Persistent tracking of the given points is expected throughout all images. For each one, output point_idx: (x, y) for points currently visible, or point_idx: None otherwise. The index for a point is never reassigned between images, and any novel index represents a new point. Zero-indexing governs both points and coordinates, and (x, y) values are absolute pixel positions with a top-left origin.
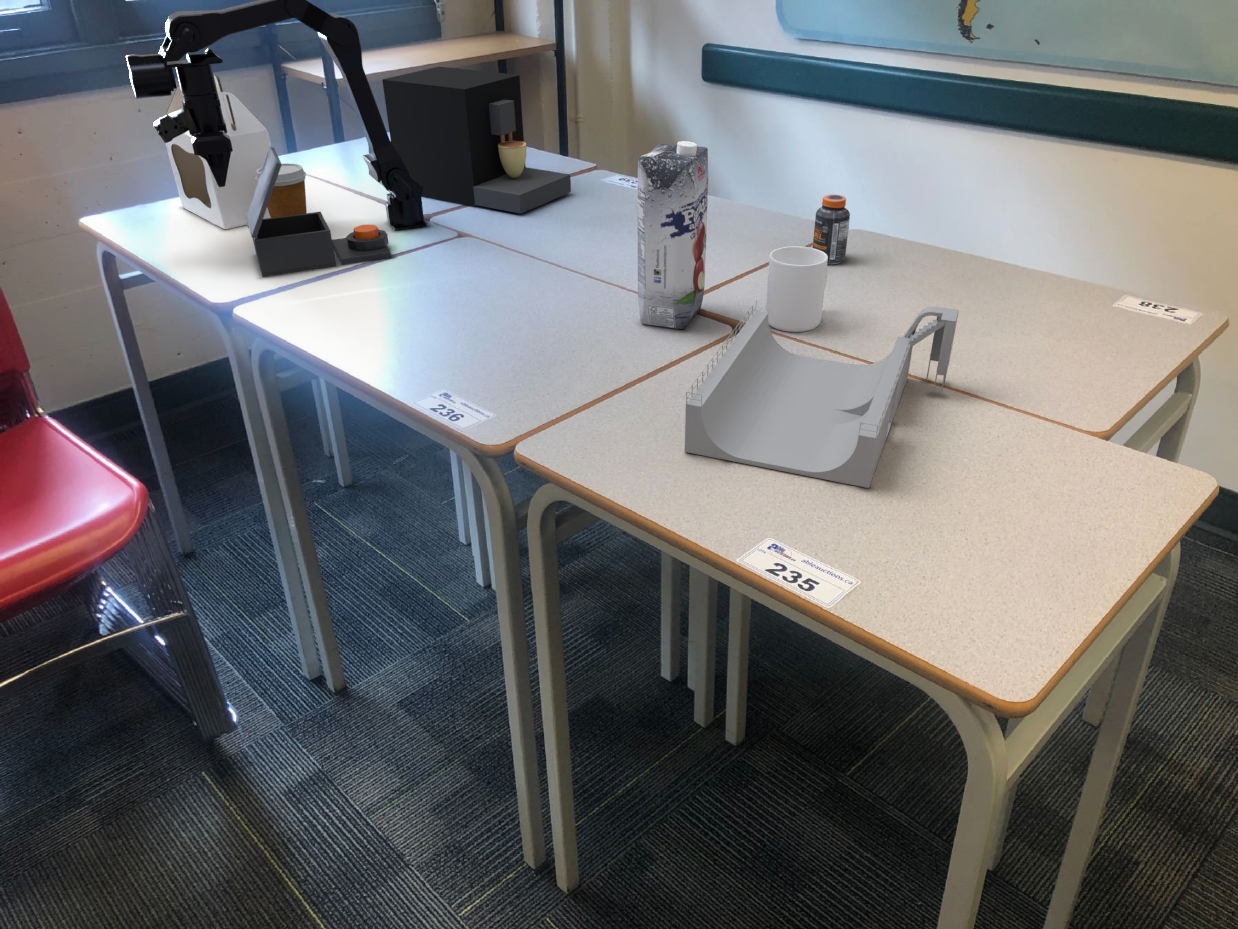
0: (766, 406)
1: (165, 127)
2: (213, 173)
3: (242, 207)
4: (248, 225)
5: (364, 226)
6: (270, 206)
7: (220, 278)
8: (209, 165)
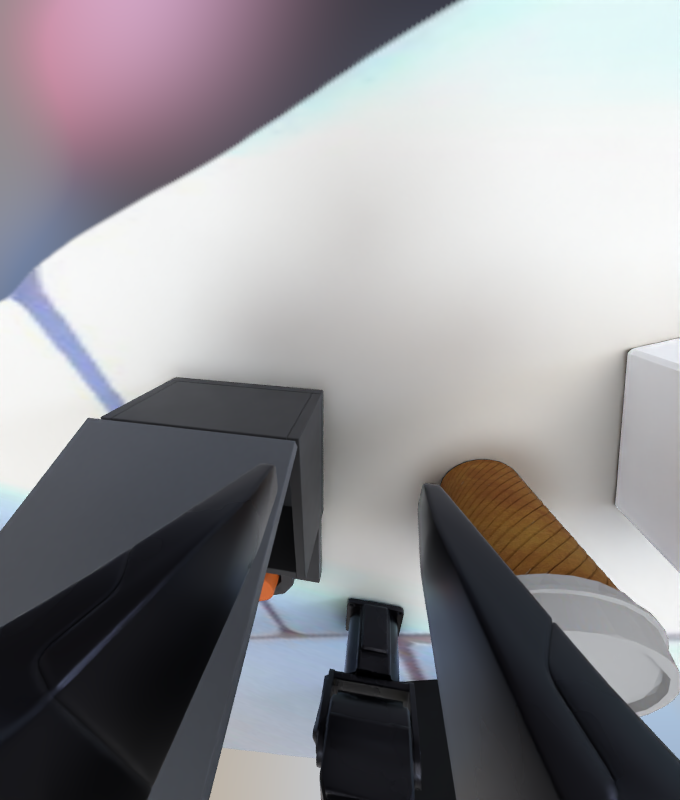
0: None
1: None
2: (169, 528)
3: (669, 443)
4: (193, 431)
5: (262, 589)
6: (483, 513)
7: (189, 288)
8: (47, 601)
